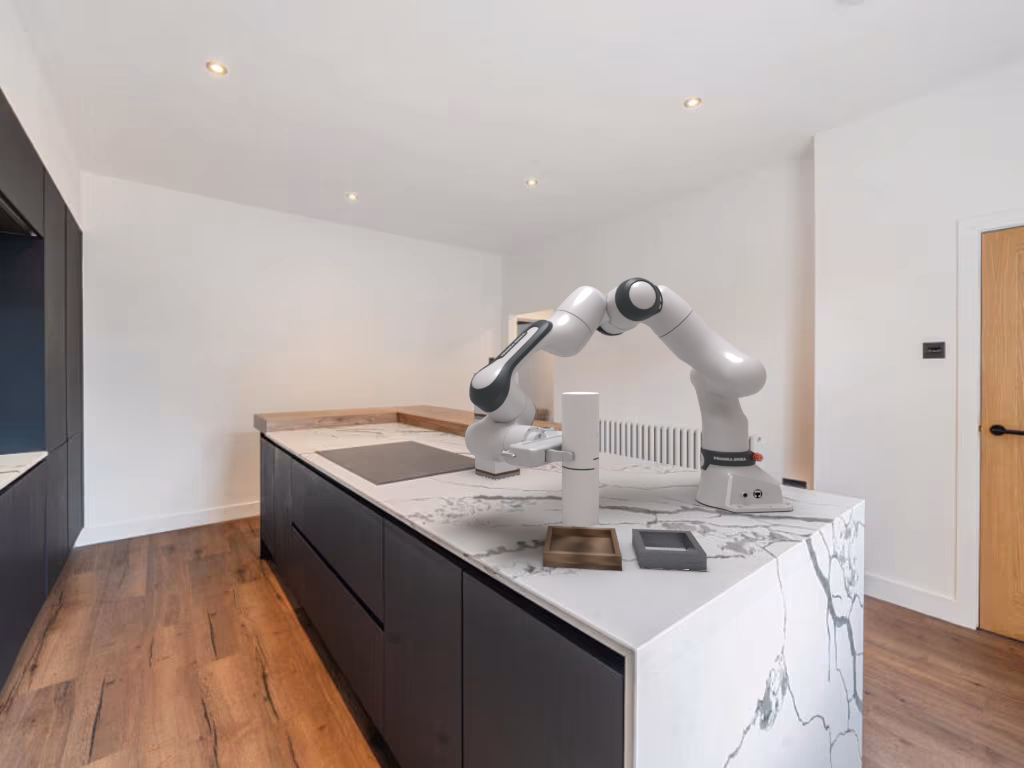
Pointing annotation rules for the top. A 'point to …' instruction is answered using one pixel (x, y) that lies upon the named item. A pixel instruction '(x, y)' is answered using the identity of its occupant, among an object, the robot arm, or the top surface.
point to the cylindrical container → (580, 459)
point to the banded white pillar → (489, 467)
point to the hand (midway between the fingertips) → (584, 453)
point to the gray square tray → (668, 558)
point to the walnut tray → (582, 548)
